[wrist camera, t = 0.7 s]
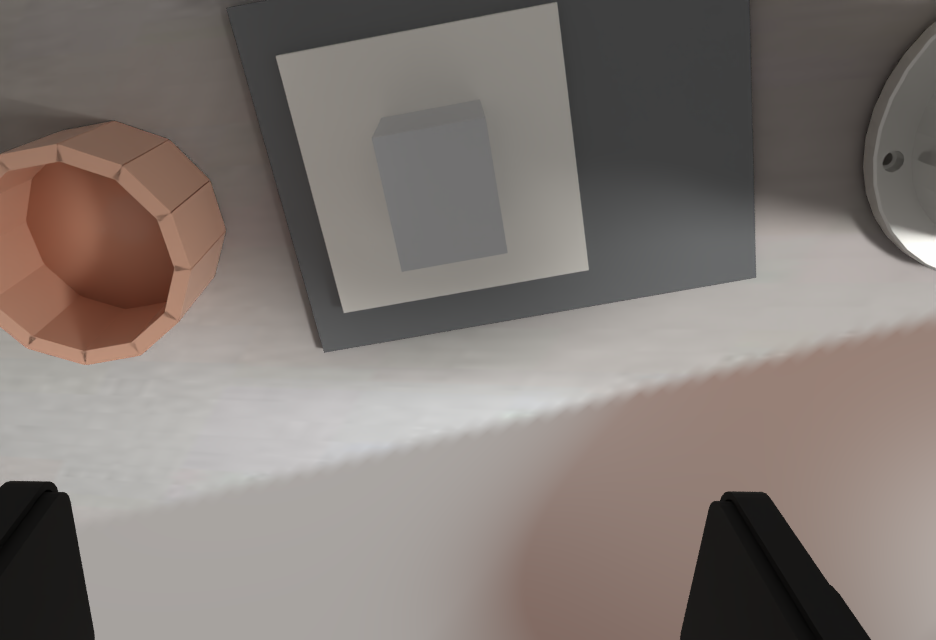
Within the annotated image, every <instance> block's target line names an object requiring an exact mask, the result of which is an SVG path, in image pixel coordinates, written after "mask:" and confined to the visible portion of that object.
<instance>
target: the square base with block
mask: <svg viewBox="0 0 936 640" xmlns="http://www.w3.org/2000/svg"><path fill="white" fill-rule="evenodd" d="M276 60H277V63H278V67H279V71H280V75H281V78H282V82H283V86H284V90H285V93H286V97H287V101H288V105H289V109H290V112H291V116H292V120H293V124H294V127H295V131H296V135H297V139H298V142H299V146H300V150H301V154H302V158H303V161H304V165H305V169H306V173H307V176H308V180H309V184H310V188H311V191H312V195H313V199H314V203H315V206H316V210H317V214H318V218H319V222H320V225H321V229H322V233H323V237H324V240H325V244H326V248H327V252H328V255H329V259H330V263H331V267H332V271H333V274H334V278H335V282H336V286H337V289H338V293H339V297H340V301H341V304H342V308H343V312H344V313H348V312H353V311H359V310H365V309H370V308H376V307H382V306H387V305H393V304H399V303H404V302H410V301H416V300H422V299H427V298H433V297H439V296H444V295H450V294H456V293H461V292H467V291H473V290H478V289H484V288H490V287H496V286H501V285H507V284H513V283H518V282H524V281H530V280H535V279H541V278H547V277H552V276H558V275H564V274H570V273H575V272H581V271H587V270H589V266H588V257H587V249H586V241H585V232H584V224H583V215H582V207H581V199H580V190H579V182H578V173H577V165H576V157H575V148H574V140H573V131H572V123H571V115H570V106H569V98H568V89H567V81H566V73H565V64H564V56H563V47H562V39H561V30H560V22H559V14H558V5H557V2H552V3H547V4H542V5H537V6H531V7H526V8H521V9H516V10H511V11H505V12H500V13H495V14H490V15H484V16H479V17H474V18H469V19H464V20H458V21H453V22H448V23H443V24H437V25H432V26H427V27H422V28H417V29H411V30H406V31H401V32H396V33H390V34H385V35H380V36H375V37H370V38H364V39H359V40H354V41H349V42H343V43H338V44H333V45H328V46H322V47H317V48H312V49H307V50H302V51H296V52H291V53H286V54H281V55H277V56H276Z"/></svg>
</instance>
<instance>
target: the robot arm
mask: <svg viewBox="0 0 936 640" xmlns="http://www.w3.org/2000/svg"><path fill="white" fill-rule="evenodd" d="M886 155H887V158H886V160H885V161H884V162H883V160H884V158H885V156H886ZM863 172H864V180H865V189H866V195H867V198H868V201H869V203H870V206H871V209H872V212H873V215H874V217H875V219H876V221H877V222H878V224H879V225H880V227H881V228H882V230H883V232H884V233H885V235H886V236H887V237H888V238H889V239H890V240H891V241H892V242H893V243H894V244H895V245H896V246H897V247H898V248H899V249H900V250H901V251H902V252H903V253H905V254H907V255H909V256H910V257H912V258H913V259H915V260H917V261H918V262H920V263H921V264H923V265H925V266H927V267H929V268H931V269H933V270H935V271H936V21H935V22H934V23H933V24H932V25H931V26H929V27H928V28H927V29H926V30H925V31H924V33H923V34H922V35H921V36H920V37H919V38H918V39H917V40H916V41H915V43H914V44H913V45H912V46H911V47H910V48H909V49H908V50H907V51H906V53H905V54H904V55H903V57H902V58H901V60H900V61H899V63H898V64H897V66H896V67H895V69H894V70H893V72H892V74H891V75H890V77H889V78H888V80H887V81H886V83H885V85H884V88H883V90H882V92H881V94H880V96H879V99H878V101H877V103H876V105H875V107H874V110H873V113H872V116H871V120H870V124H869V128H868V131H867V135H866V139H865V149H864V161H863ZM0 640H95V637H94V629H93V623H92V618H91V612H90V606H89V601H88V595H87V591H86V585H85V579H84V574H83V568H82V562H81V557H80V552H79V546H78V540H77V535H76V529H75V524H74V518H73V513H72V507H71V502H70V498H69V496H68V494H67V493H65V492H58V490H57V487H56V486H55V484H54V483H52V482H42V481H9V482H6V483H4V484H3V485H2V486H1V487H0ZM680 640H871V639H870V638H869V636H868V635H867V633H866V632H865V630H864V629H863V628H862V626H861V625H860V623H859V622H858V620H857V619H856V617H855V616H854V614H853V613H852V612H851V610H850V609H849V607H848V606H847V605H846V603H845V601H844V600H843V599H842V597H841V596H840V594H839V593H838V592H837V591H836V590H835V589H834V588H833V586H831V585H829V583H828V582H827V580H826V579H825V577H824V576H823V574H822V573H821V572H820V570H819V569H818V567H817V566H816V564H815V563H814V561H813V560H812V558H811V557H810V555H809V554H808V553H807V551H806V550H805V548H804V547H803V545H802V544H801V542H800V541H799V539H798V538H797V536H796V535H795V534H794V532H793V531H792V529H791V528H790V526H789V525H788V523H787V522H786V520H785V519H784V517H783V516H782V515H781V513H780V512H779V510H778V509H777V507H776V506H775V504H774V503H773V501H772V500H771V499H770V497H769V496H768V495H767V494H766V493H763V492H725V493H724V495H722V497H721V500H720V501H714V502H712V503H711V505H710V507H709V510H708V515H707V519H706V524H705V528H704V533H703V537H702V541H701V546H700V550H699V555H698V559H697V564H696V568H695V573H694V577H693V582H692V586H691V590H690V595H689V599H688V603H687V608H686V612H685V617H684V622H683V626H682V630H681V636H680Z"/></svg>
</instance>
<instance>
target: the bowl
mask: <svg viewBox="0 0 936 640" xmlns="http://www.w3.org/2000/svg"><path fill="white" fill-rule="evenodd" d="M225 230H226V228H225V225H224V222H223V219H222V216H221V213H220V210H219V206H218V203H217V200H216V197H215V194H214V191H213V188H212V184H211V181H209V179H208V178H207V177H206V176H205V175H204V174H203V173H202V172H201V171H200V170H199V169H198V168H197V167H196V166H195V165H194V164H193V163H192V162H191V161H190V160H189V159H188V158H187V157H186V156H185V155H184V154H183V153H182V152H181V151H180V150H179V149H178V148H177V147H176V146H175V145H174V144H173V143H172V142H171V141H170V140H169V139H167V138H164V137H161V136H158V135H155V134H152V133H149V132H146V131H143V130H140V129H137V128H134V127H131V126H128V125H126V124H123V123H120V122H117V121H109V122H104V123H99V124H94V125H88V126H83V127H78V128H72V129H67V130H62V131H59V132H57V133H54V134H51V135H49V136H46V137H43V138H41V139H38V140H35V141H33V142H30V143H27V144H25V145H22V146H19V147H17V148H14V149H11V150H9V151H6V152H4V153H1V154H0V327H1V328H3V329H4V330H5V331H6V332H7V333H9V334H10V335H11V336H12V337H14V338H15V339H16V340H17V341H18V342H20V343H21V344H22V345H23V346H25V347H26V348H27V347H28V348H27V349H31V350H34V351H38V352H41V353H45V354H48V355H52V356H55V357H59V358H62V359H66V360H69V361H73V362H76V363H80V364H83V365H85V364H86V365H89V364H95V363H101V362H106V361H112V360H118V359H124V358H129V357H135V356H140V355H142V354H143V353H144V352H145V351H146V350H147V349H149V348H150V347H151V346H152V345H153V344H154V343H155V342H156V341H158V340H159V339H160V338H161V337H162V336H163V335H164V334H166V333H167V332H168V331H169V330H170V329H171V328H172V327H173V326H175V325H176V324H177V323H178V322H179V321H180V320H181V318H182V317H183V316H184V315H185V313H186V312H187V311H188V309H189V308H190V307H191V306H192V304H193V303H194V302H195V301H196V299H197V298H198V297H199V296H200V294H201V293H202V292H203V290H204V289H205V288H206V287H207V285H208V284H209V283H210V282H211V280H212V279H213V278H214V276H215V274H216V270H217V266H218V262H219V257H220V253H221V249H222V245H223V241H224V237H225V233H226V231H225Z"/></svg>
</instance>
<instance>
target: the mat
mask: <svg viewBox="0 0 936 640" xmlns="http://www.w3.org/2000/svg"><path fill="white" fill-rule="evenodd" d="M552 2H557V5H558V14H559V22H560V30H561V39H562V47H563V56H564V64H565V73H566V81H567V89H568V98H569V106H570V115H571V123H572V131H573V140H574V148H575V157H576V165H577V173H578V182H579V190H580V199H581V207H582V215H583V224H584V232H585V241H586V249H587V257H588V266H589V270H587V271H581V272H575V273H570V274H564V275H558V276H552V277H547V278H541V279H535V280H530V281H524V282H518V283H513V284H507V285H501V286H496V287H490V288H484V289H478V290H473V291H467V292H461V293H456V294H450V295H444V296H439V297H433V298H427V299H422V300H416V301H410V302H404V303H399V304H393V305H387V306H382V307H376V308H370V309H365V310H359V311H353V312H348V313H344V312H343V308H342V304H341V301H340V297H339V293H338V289H337V286H336V282H335V278H334V274H333V271H332V267H331V263H330V259H329V255H328V252H327V248H326V244H325V240H324V237H323V233H322V229H321V225H320V222H319V218H318V214H317V210H316V206H315V203H314V199H313V195H312V191H311V188H310V184H309V180H308V176H307V173H306V169H305V165H304V161H303V158H302V154H301V150H300V146H299V142H298V139H297V135H296V131H295V127H294V124H293V120H292V116H291V112H290V109H289V105H288V101H287V97H286V93H285V90H284V86H283V82H282V78H281V75H280V71H279V67H278V63H277V60H276V56H277V55H281V54H286V53H291V52H296V51H302V50H307V49H312V48H317V47H322V46H328V45H333V44H338V43H343V42H349V41H354V40H359V39H364V38H370V37H375V36H380V35H385V34H390V33H396V32H401V31H406V30H411V29H417V28H422V27H427V26H432V25H437V24H443V23H448V22H453V21H458V20H464V19H469V18H474V17H479V16H484V15H490V14H495V13H500V12H505V11H511V10H516V9H521V8H526V7H531V6H537V5H542V4H547V3H552ZM227 12H228V15H229V19H230V23H231V26H232V30H233V33H234V37H235V40H236V44H237V47H238V51H239V54H240V58H241V61H242V65H243V68H244V72H245V75H246V79H247V83H248V86H249V90H250V93H251V97H252V100H253V104H254V107H255V111H256V114H257V118H258V121H259V125H260V128H261V132H262V135H263V139H264V142H265V146H266V150H267V153H268V157H269V160H270V164H271V167H272V171H273V174H274V178H275V181H276V185H277V188H278V192H279V195H280V199H281V202H282V206H283V209H284V213H285V217H286V220H287V224H288V227H289V231H290V234H291V238H292V241H293V245H294V248H295V252H296V255H297V259H298V262H299V266H300V269H301V273H302V276H303V280H304V284H305V287H306V291H307V294H308V298H309V301H310V305H311V308H312V312H313V315H314V319H315V322H316V326H317V329H318V333H319V336H320V340H321V343H322V347H323V351H324V353H325V352H330V351H336V350H342V349H348V348H353V347H359V346H365V345H371V344H376V343H382V342H388V341H394V340H400V339H405V338H411V337H417V336H423V335H428V334H434V333H440V332H446V331H451V330H457V329H463V328H469V327H474V326H480V325H486V324H492V323H497V322H503V321H509V320H515V319H521V318H526V317H532V316H538V315H544V314H549V313H555V312H561V311H567V310H572V309H578V308H584V307H590V306H595V305H601V304H607V303H613V302H618V301H624V300H630V299H636V298H642V297H647V296H653V295H659V294H665V293H670V292H676V291H682V290H688V289H693V288H699V287H705V286H711V285H716V284H722V283H728V282H734V281H740V280H745V279H751V278H756V255H755V213H754V171H753V129H752V86H751V44H750V2H749V0H265V1H260V2H255V3H250V4H245V5H239V6H234V7H229V8H227Z"/></svg>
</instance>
